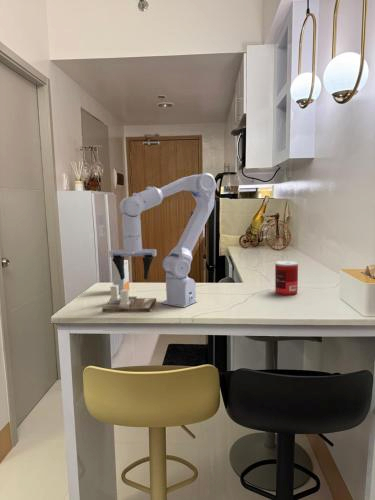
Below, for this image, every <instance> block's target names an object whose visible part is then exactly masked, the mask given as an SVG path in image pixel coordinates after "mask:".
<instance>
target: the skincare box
mask: <svg viewBox="0 0 375 500" xmlns="http://www.w3.org/2000/svg"><path fill="white" fill-rule="evenodd" d="M111 267H112V268H111V269H112V285H118V286H119V295H120V291H121V290H122V289H128V292H129V291H130V275H129V274H130V272H129V260H128V259H124V274H125V278H124V279H123V280H121V278H120V274H119V271H118V269H117V267H116V265H115V263H114V262H113V261H112V263H111Z"/></svg>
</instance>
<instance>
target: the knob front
mask: <svg viewBox="0 0 375 500" xmlns="http://www.w3.org/2000/svg"><path fill="white" fill-rule="evenodd" d="M119 296H120V300H121V303H120V304H119V306H129V305H130V301H129V296H130V294H129V291H128V289H122V290H121V291H120V294H119Z"/></svg>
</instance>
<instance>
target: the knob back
mask: <svg viewBox="0 0 375 500" xmlns="http://www.w3.org/2000/svg"><path fill="white" fill-rule="evenodd" d="M119 299H120V294H119V286H118V285H113V284H111V286H110V297H109V300H119Z"/></svg>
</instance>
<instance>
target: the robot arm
mask: <svg viewBox="0 0 375 500" xmlns="http://www.w3.org/2000/svg"><path fill="white" fill-rule="evenodd" d="M217 187H218V184H217V182H216V180H215V177H214V176H213V175H212V174H211V173H209V172H203V173H200V174H192V175H190V176H189V175H188V176H185V177H181V178H179V179H176V180H174V181H173V182H170V183H168V184H166V185H164V186H161V187H160V188H157V187H156V186H151V185H150V186H147V187H145V189H144V190H142V191H140V192H137V193H136V192H134V193H132V195H131V196H128V197H124V198H122V199H121V201H120V202H119V206H118V210H119V212H120V214H121V220H122V221H121V228H122V229H121V230H122V242H123V243H122V245H123V246H122V247H123V248H122V249H110V250H109V258H112V263H113V262H114V263H115V265H116V267H117V269H118V271H119V274H120V278H121V280H123V279H124V278H125V274H124V260H125V257H142V261H143V262H142V263H143V280H147V279H148V278H149V271H150V267H151V264H152V262H153V258H154V257H157V255H158V254H157V249H155V248H143V243H142V242H143V241H142V221H141V214H142V212H145V211H147V210H149V209H151V208H154V207H156V206H159V205H160V204H162V201H163V199H165V198H166V197H169V196H171V195H172V196H173V195H174V194H177V193H179V192H181V191H188V192H189V193H190V194H191V196H192V197H193V198H194V200H195V202H196V206H195V209H194V210H193V212H192V214H191V217H190V218H189V220H188V223H187V224H186V226H185V228H184V229H183V232H182V234H181V236H180V239H179V241H178V243H177V245H176V246H175V247H173V248H172V249H171V250H170V252H169V254H168V255H167V256H166V257H164V258H163V261H162V268H163V270H164V272H166V273H165V289H166V291H165V292H166V293H165V294H166V300H163V301H161V302H160V303H161V304H162V305H163V304H164V305H168V306H174V307H180V308H186V307H188V306H191V305H192V304H195V303H196V302H198V300H197V298H196V297H197V295H196V281H195V279H193V278H190V277H189V276H188V275H189V273H190V271H191V264H192V261H193V254H192V252H193V250H194V248H195V247H196V244H197V242H198V240H199V238H200V236H201V233H202V232H203V229H204V228H205V225H206V223H207V222H208V220H209V217H210V216H211V213H212V211H213V210H214V207H215V198H216V197H215V195H216V190H217Z"/></svg>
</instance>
